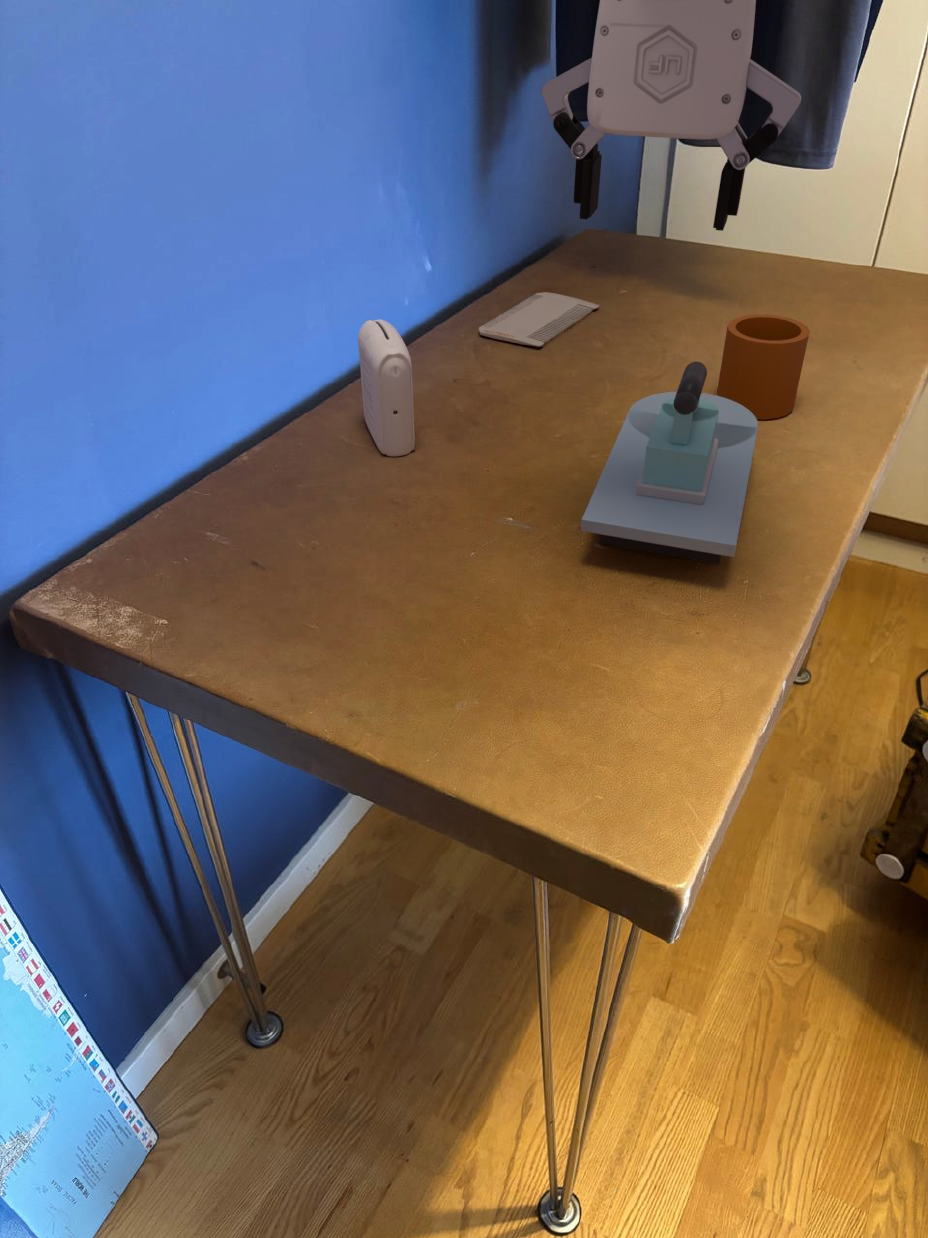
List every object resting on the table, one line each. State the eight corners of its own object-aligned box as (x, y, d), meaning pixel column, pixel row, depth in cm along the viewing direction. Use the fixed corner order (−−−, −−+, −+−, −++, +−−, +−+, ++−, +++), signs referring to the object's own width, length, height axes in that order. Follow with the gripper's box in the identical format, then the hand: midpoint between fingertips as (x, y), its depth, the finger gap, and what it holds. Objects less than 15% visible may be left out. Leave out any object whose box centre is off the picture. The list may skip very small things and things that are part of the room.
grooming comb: (538, 349, 119) (538, 343, 118) (472, 334, 123) (472, 328, 123) (600, 307, 131) (601, 301, 131) (539, 294, 135) (539, 289, 135)
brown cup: (810, 387, 110) (828, 313, 104) (780, 427, 102) (798, 349, 96) (737, 372, 113) (751, 299, 108) (703, 409, 105) (716, 333, 100)
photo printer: (420, 454, 98) (415, 342, 90) (381, 460, 97) (373, 347, 89) (397, 413, 105) (390, 307, 98) (360, 418, 104) (351, 311, 97)
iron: (703, 505, 80) (720, 408, 74) (634, 494, 81) (646, 398, 75) (718, 445, 88) (734, 353, 82) (656, 436, 90) (668, 346, 84)
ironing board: (754, 443, 99) (763, 400, 96) (726, 593, 78) (736, 545, 75) (635, 426, 102) (640, 384, 99) (577, 566, 81) (581, 519, 78)
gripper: (534, -72, 55) (525, 224, 66) (833, -72, 51) (771, 245, 62) (564, -77, 61) (551, 197, 72) (836, -77, 56) (778, 215, 67)
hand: (653, 219), depth 67 cm, fingers open, 9 cm apart
